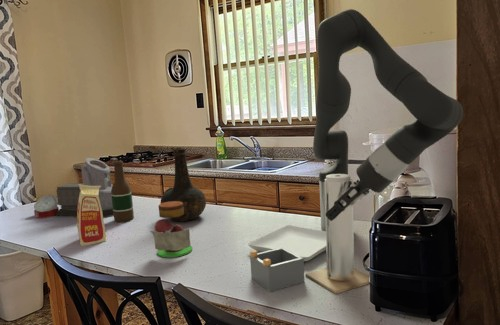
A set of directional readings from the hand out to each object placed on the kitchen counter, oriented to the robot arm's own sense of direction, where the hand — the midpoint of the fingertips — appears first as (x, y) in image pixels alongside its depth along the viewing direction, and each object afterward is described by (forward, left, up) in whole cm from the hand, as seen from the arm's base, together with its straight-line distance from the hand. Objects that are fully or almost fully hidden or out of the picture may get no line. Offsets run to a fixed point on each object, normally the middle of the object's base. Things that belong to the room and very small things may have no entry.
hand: (335, 213), depth 101 cm
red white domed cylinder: (+62, -124, -17) cm, 140 cm away
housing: (+13, -8, -16) cm, 22 cm away
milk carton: (+49, -73, -17) cm, 89 cm away
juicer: (+45, -114, -17) cm, 124 cm away
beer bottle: (+35, -93, -17) cm, 100 cm away
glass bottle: (+14, -79, -17) cm, 81 cm away
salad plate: (-3, -23, -17) cm, 29 cm away
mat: (0, 0, -16) cm, 16 cm away
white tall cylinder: (-1, +1, -16) cm, 16 cm away
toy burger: (+29, -44, -17) cm, 55 cm away
